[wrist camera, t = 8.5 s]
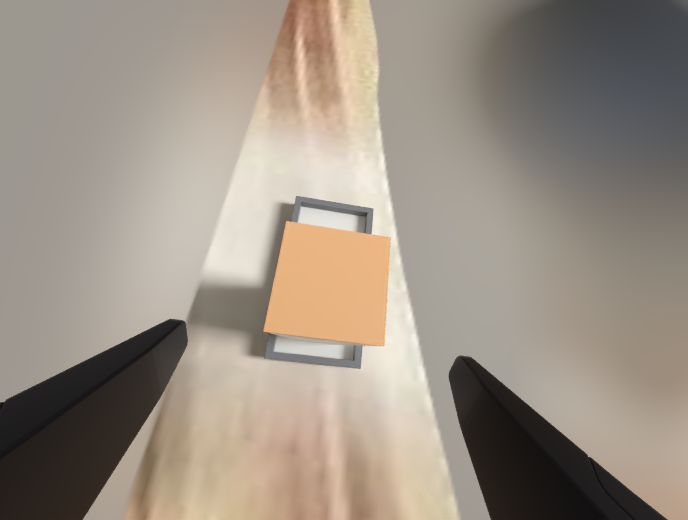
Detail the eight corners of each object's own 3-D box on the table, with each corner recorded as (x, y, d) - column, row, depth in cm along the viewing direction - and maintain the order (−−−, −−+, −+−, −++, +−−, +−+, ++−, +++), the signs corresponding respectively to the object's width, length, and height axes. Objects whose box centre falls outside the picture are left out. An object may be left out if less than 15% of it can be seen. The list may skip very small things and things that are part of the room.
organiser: (357, 367, 20) (360, 368, 19) (267, 357, 19) (264, 358, 18) (369, 216, 24) (373, 208, 23) (296, 204, 24) (296, 195, 22)
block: (341, 345, 20) (384, 346, 8) (289, 338, 19) (263, 331, 8) (347, 294, 21) (390, 237, 10) (298, 288, 21) (286, 220, 9)
